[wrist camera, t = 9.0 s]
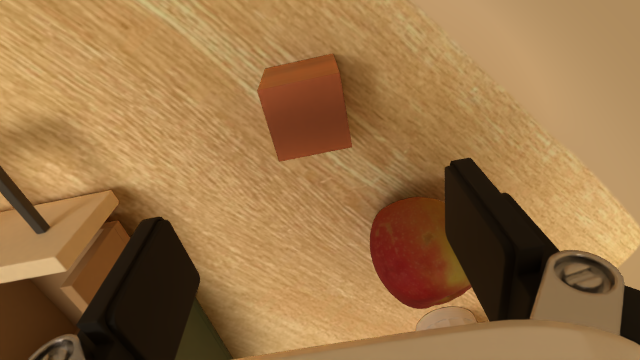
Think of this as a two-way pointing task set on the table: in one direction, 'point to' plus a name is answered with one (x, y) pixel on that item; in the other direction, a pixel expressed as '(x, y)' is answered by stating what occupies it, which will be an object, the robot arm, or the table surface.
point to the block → (305, 107)
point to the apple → (416, 253)
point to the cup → (446, 318)
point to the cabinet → (201, 339)
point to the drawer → (51, 265)
